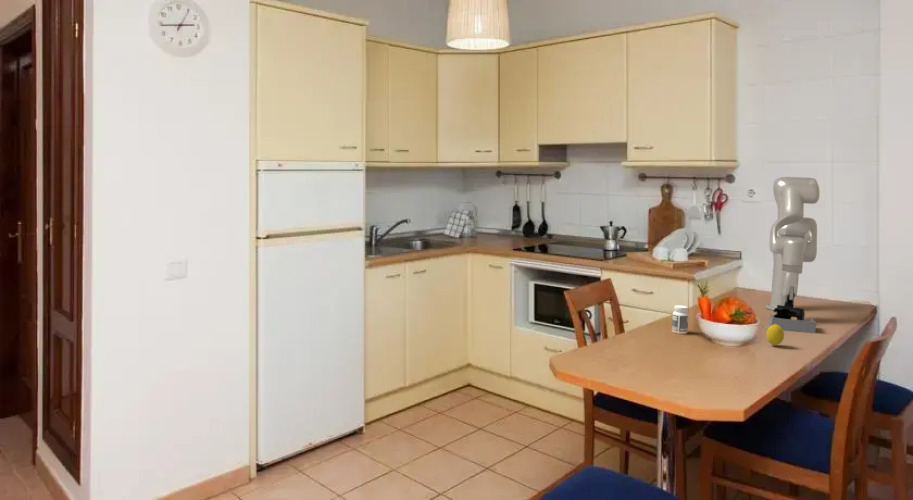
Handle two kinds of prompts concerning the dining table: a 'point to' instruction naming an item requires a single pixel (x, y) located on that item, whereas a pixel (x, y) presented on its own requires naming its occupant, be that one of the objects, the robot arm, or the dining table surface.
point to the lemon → (775, 334)
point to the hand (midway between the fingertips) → (788, 312)
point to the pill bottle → (680, 320)
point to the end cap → (789, 312)
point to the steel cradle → (794, 324)
